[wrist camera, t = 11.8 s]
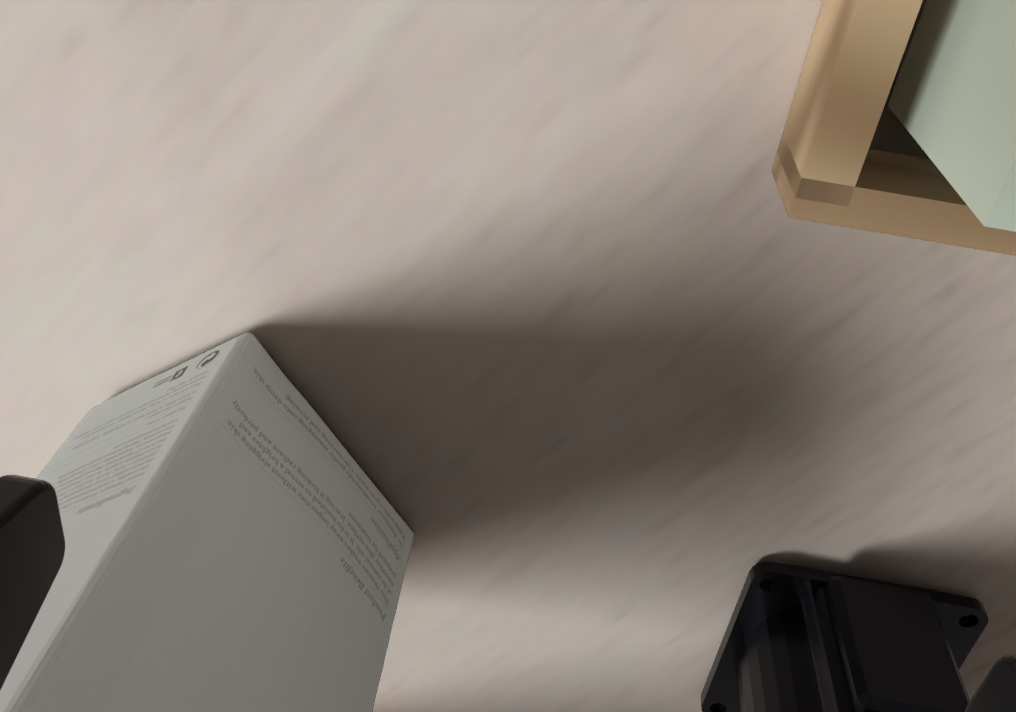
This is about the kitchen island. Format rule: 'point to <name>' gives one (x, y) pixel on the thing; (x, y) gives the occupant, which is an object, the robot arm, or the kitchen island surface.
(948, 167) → the sage carton
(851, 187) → the tray
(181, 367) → the skincare box
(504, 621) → the kitchen island surface
